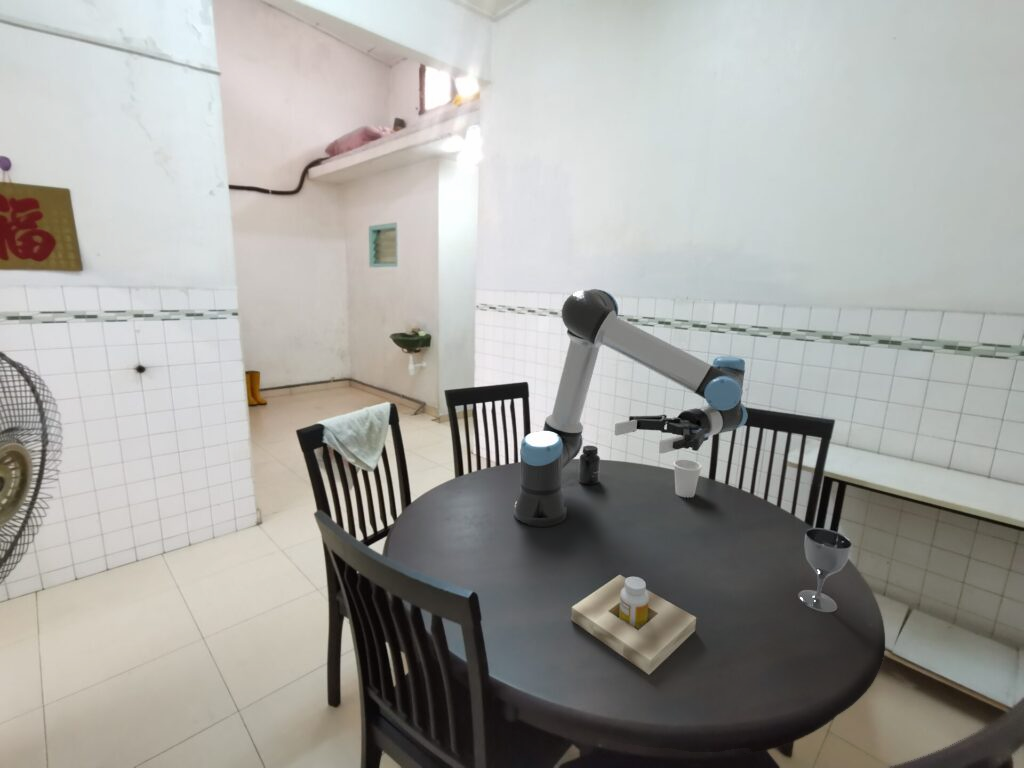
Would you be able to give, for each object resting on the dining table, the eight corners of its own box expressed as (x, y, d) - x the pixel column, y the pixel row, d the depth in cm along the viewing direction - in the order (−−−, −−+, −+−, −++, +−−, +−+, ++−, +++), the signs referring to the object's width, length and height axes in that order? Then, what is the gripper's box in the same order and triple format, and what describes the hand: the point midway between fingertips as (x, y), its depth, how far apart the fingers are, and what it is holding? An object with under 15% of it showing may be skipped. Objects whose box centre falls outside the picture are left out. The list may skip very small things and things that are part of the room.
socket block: (571, 619, 96) (571, 607, 95) (619, 586, 107) (619, 574, 106) (649, 674, 83) (650, 660, 82) (694, 630, 93) (696, 617, 93)
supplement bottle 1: (598, 486, 156) (600, 452, 154) (577, 484, 158) (579, 450, 155) (599, 478, 163) (600, 444, 160) (579, 476, 164) (580, 443, 161)
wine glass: (840, 619, 97) (852, 553, 93) (795, 604, 101) (805, 541, 97) (839, 597, 103) (850, 534, 100) (796, 584, 107) (806, 524, 104)
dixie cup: (702, 499, 148) (706, 469, 145) (675, 499, 148) (678, 469, 145) (693, 487, 156) (696, 459, 153) (667, 487, 156) (670, 458, 153)
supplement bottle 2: (647, 619, 96) (650, 577, 94) (645, 638, 91) (649, 594, 89) (620, 613, 98) (622, 571, 96) (617, 631, 93) (619, 587, 91)
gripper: (743, 453, 109) (680, 472, 98) (658, 424, 130) (599, 437, 119) (747, 421, 107) (684, 438, 96) (660, 397, 128) (600, 408, 117)
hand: (637, 438), depth 108 cm, fingers open, 13 cm apart
